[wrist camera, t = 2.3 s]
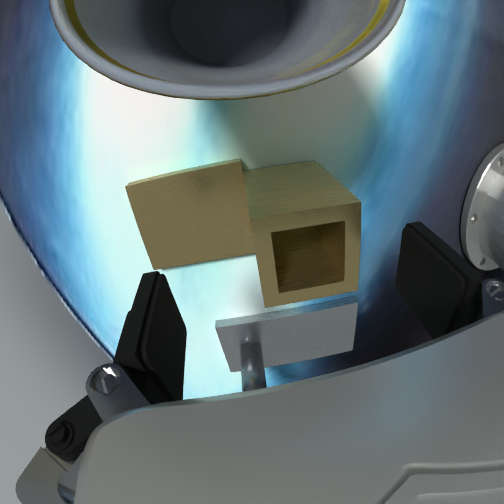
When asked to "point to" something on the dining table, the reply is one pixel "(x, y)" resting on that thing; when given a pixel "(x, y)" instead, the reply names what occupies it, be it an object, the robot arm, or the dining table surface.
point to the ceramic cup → (222, 42)
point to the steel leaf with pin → (286, 337)
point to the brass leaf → (255, 224)
